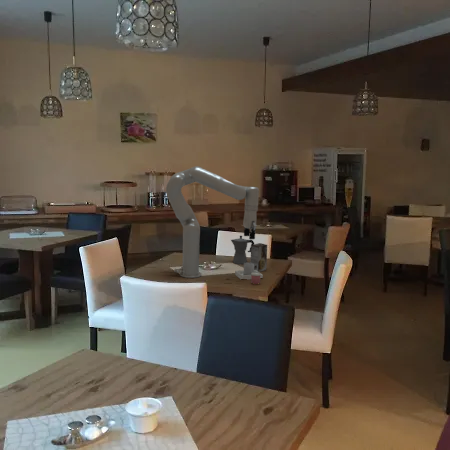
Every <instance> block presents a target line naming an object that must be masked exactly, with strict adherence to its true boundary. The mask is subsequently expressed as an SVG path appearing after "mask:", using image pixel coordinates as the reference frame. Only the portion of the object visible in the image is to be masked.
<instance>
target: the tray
mask: <svg viewBox="0 0 450 450" xmlns="http://www.w3.org/2000/svg"><path fill="white" fill-rule="evenodd" d="M254 272H258V271H257V270H254ZM243 274H244V269H243V270H235V271H234V275H235V276H236V277H237V278H238V279H240V280H241V279H247V280H251V275H243ZM260 278H264V276H263V274H262V273H261V275H260Z"/></svg>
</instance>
